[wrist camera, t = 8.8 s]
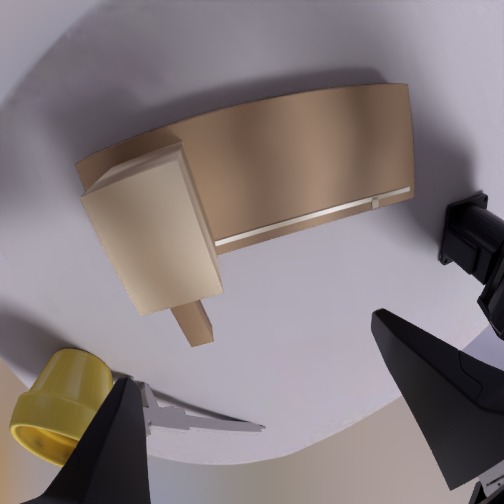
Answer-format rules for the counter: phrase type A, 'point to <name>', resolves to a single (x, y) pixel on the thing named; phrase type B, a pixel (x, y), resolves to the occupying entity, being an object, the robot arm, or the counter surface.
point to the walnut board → (287, 159)
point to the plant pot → (61, 404)
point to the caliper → (187, 419)
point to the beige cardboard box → (158, 236)
